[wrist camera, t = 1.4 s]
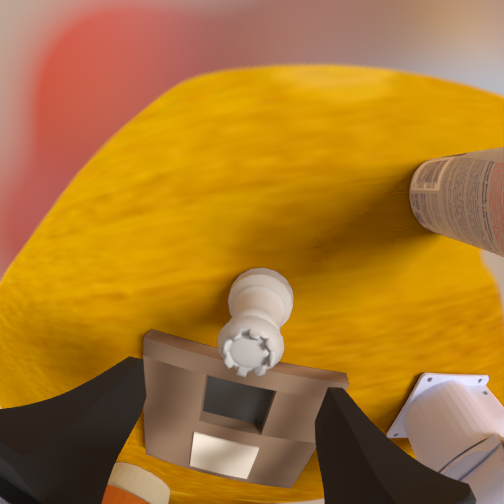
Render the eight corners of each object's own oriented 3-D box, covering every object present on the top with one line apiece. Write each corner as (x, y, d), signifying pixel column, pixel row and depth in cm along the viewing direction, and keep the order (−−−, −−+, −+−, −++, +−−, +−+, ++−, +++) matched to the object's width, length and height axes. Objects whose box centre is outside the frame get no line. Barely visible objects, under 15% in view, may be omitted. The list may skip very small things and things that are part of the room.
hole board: (346, 373, 21) (349, 385, 19) (291, 478, 25) (290, 489, 23) (151, 328, 22) (142, 338, 20) (150, 445, 26) (145, 455, 24)
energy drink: (473, 211, 17) (590, 236, 6) (425, 245, 18) (540, 302, 7) (446, 147, 17) (565, 124, 5) (394, 179, 18) (513, 172, 6)
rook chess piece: (301, 316, 20) (307, 383, 13) (242, 331, 21) (220, 399, 13) (283, 257, 20) (281, 300, 12) (221, 276, 20) (185, 324, 13)
